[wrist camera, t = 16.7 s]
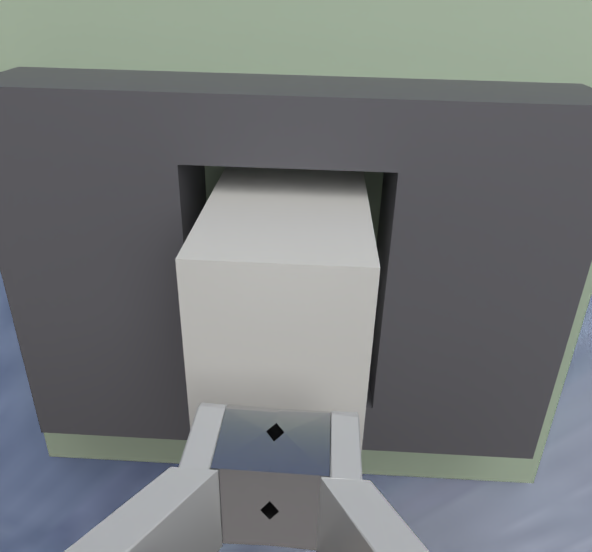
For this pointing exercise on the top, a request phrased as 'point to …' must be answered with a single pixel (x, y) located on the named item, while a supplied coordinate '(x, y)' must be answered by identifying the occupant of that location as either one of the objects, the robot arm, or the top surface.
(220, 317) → the plug
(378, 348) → the board
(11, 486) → the top surface
